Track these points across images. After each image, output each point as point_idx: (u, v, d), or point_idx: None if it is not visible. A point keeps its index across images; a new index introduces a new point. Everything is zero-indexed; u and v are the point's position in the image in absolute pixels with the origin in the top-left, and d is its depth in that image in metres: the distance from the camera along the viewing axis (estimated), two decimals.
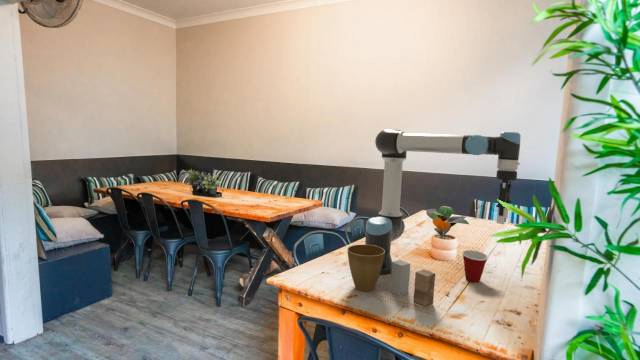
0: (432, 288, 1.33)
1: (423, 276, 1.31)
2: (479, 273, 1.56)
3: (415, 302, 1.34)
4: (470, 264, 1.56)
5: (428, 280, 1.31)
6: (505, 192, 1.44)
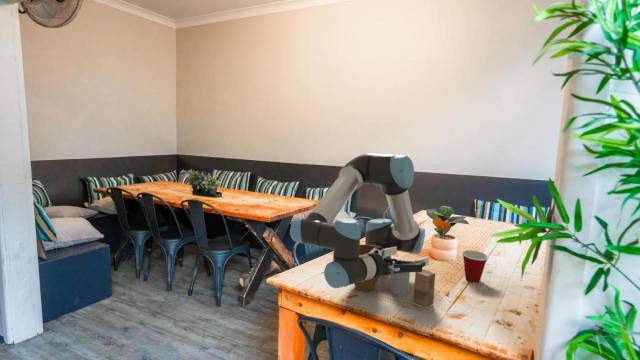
0: (432, 288, 1.33)
1: (423, 276, 1.31)
2: (479, 273, 1.56)
3: (415, 302, 1.34)
4: (470, 264, 1.56)
5: (428, 280, 1.31)
6: None
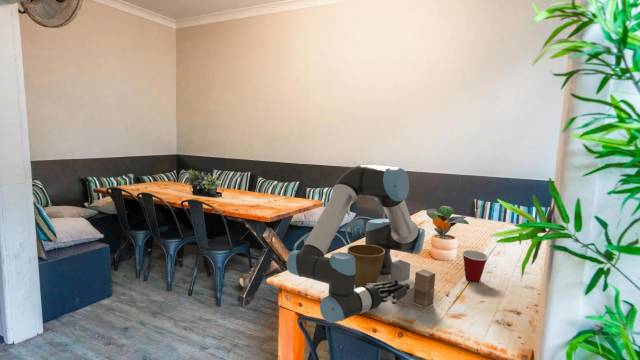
0: (432, 288, 1.33)
1: (423, 276, 1.31)
2: (479, 273, 1.56)
3: (415, 302, 1.34)
4: (470, 264, 1.56)
5: (428, 280, 1.31)
6: None
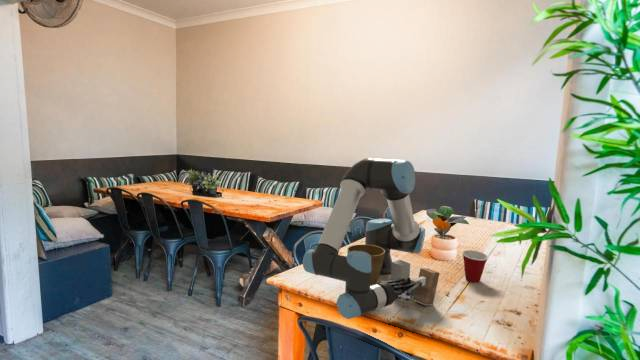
0: (434, 287, 1.33)
1: (428, 272, 1.32)
2: (479, 273, 1.56)
3: (416, 299, 1.34)
4: (470, 264, 1.56)
5: (433, 277, 1.32)
6: None
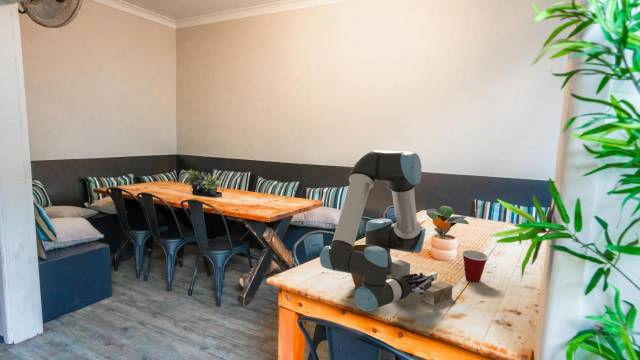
0: (443, 298, 1.38)
1: (448, 284, 1.42)
2: (479, 273, 1.56)
3: None
4: (470, 264, 1.56)
5: (449, 289, 1.40)
6: None
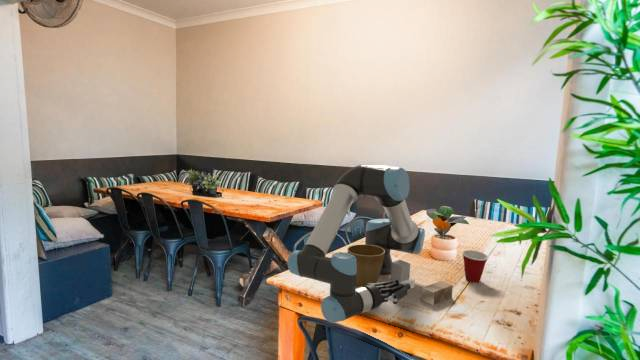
0: (443, 298, 1.38)
1: (448, 284, 1.42)
2: (479, 273, 1.56)
3: (425, 287, 1.37)
4: (470, 264, 1.56)
5: (449, 289, 1.40)
6: None
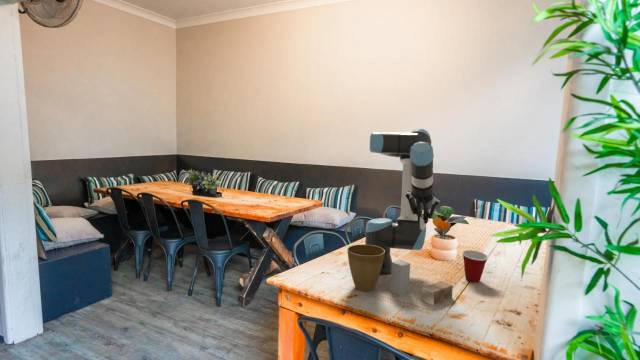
0: (443, 298, 1.38)
1: (448, 284, 1.41)
2: (479, 273, 1.56)
3: (425, 287, 1.37)
4: (470, 264, 1.56)
5: (449, 289, 1.40)
6: None
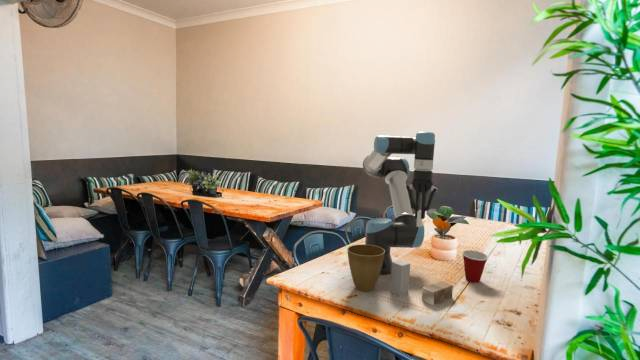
0: (443, 298, 1.38)
1: (448, 284, 1.41)
2: (479, 273, 1.56)
3: (425, 287, 1.37)
4: (470, 264, 1.56)
5: (450, 289, 1.40)
6: None
